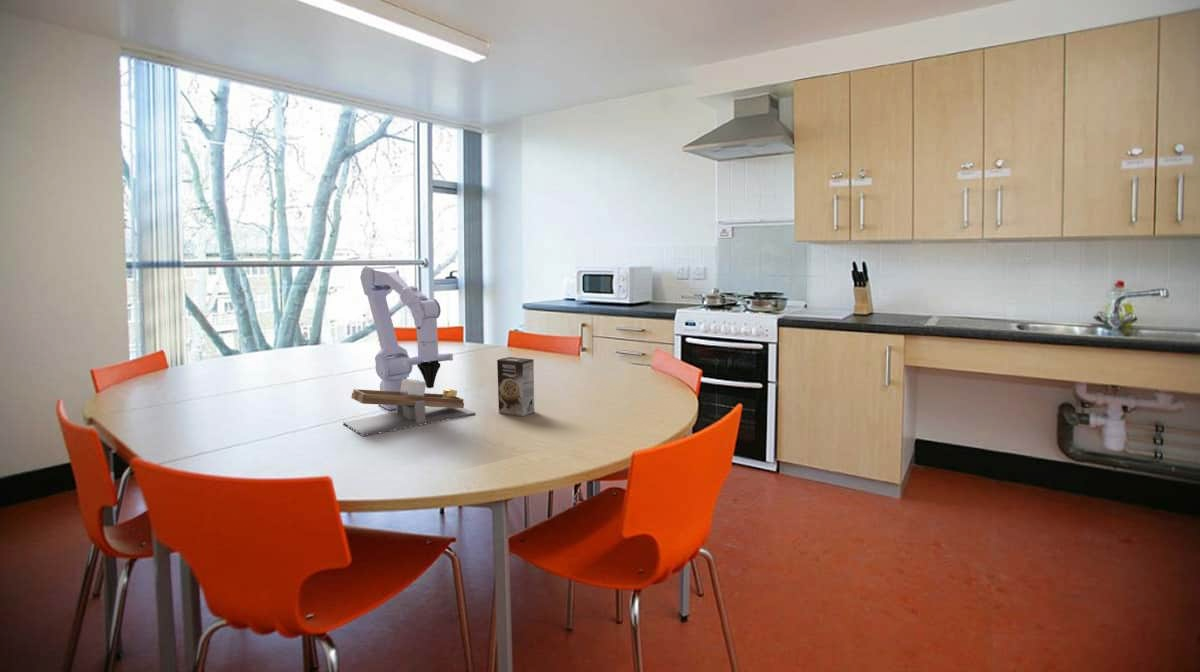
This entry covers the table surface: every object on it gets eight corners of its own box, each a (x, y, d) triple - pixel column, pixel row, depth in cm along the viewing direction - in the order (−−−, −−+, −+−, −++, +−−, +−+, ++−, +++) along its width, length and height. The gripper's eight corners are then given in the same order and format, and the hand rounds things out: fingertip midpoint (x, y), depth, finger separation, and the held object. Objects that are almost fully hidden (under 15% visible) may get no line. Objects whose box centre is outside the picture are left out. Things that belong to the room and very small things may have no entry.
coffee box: (497, 413, 190) (495, 359, 188) (510, 408, 196) (508, 356, 193) (523, 416, 186) (521, 361, 183) (535, 411, 191) (534, 358, 189)
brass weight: (439, 398, 192) (441, 388, 192) (451, 399, 194) (453, 389, 194) (445, 400, 189) (447, 390, 189) (458, 401, 191) (459, 391, 191)
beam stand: (343, 424, 180) (341, 401, 179) (450, 404, 201) (449, 384, 200) (362, 436, 168) (361, 412, 167) (475, 414, 189) (474, 393, 188)
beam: (349, 397, 179) (351, 388, 179) (447, 401, 198) (449, 393, 198) (364, 404, 170) (365, 395, 170) (465, 408, 189) (466, 400, 189)
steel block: (399, 396, 185) (402, 378, 185) (415, 396, 188) (418, 379, 188) (407, 399, 181) (409, 381, 181) (423, 399, 184) (426, 382, 184)
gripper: (409, 345, 178) (411, 393, 180) (456, 340, 187) (458, 385, 189) (399, 342, 183) (401, 389, 185) (446, 337, 192) (448, 382, 194)
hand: (429, 387), depth 187 cm, fingers closed
